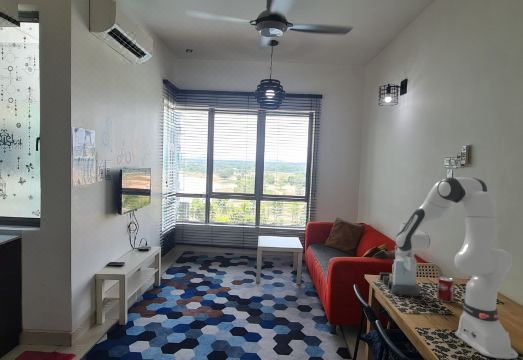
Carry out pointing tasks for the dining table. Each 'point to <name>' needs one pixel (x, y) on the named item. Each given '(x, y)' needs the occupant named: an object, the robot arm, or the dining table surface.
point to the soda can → (445, 289)
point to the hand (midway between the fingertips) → (404, 273)
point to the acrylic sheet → (403, 275)
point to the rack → (398, 286)
